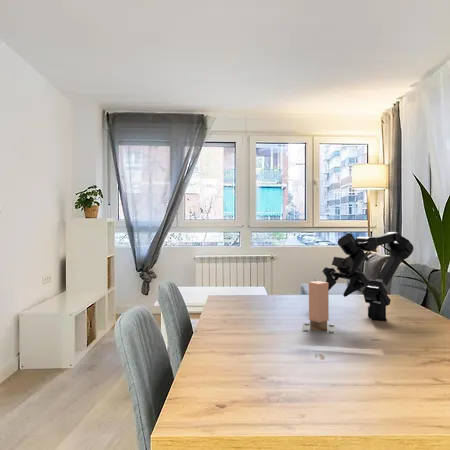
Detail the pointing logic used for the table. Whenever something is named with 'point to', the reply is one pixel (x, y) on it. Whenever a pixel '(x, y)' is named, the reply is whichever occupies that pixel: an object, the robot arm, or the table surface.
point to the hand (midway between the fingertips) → (334, 293)
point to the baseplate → (330, 330)
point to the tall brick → (318, 301)
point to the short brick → (318, 325)
